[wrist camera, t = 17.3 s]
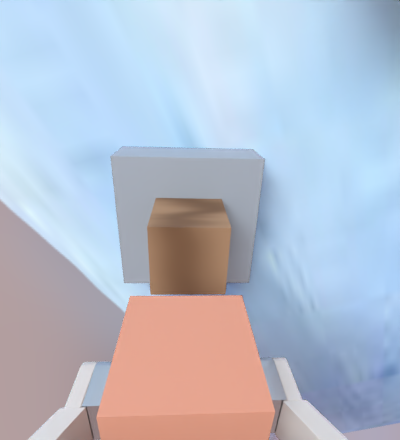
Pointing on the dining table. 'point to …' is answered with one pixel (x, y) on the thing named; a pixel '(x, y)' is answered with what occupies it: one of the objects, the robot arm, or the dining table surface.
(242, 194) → the plinth
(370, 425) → the dining table surface
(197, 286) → the walnut cube
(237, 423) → the terracotta cube
